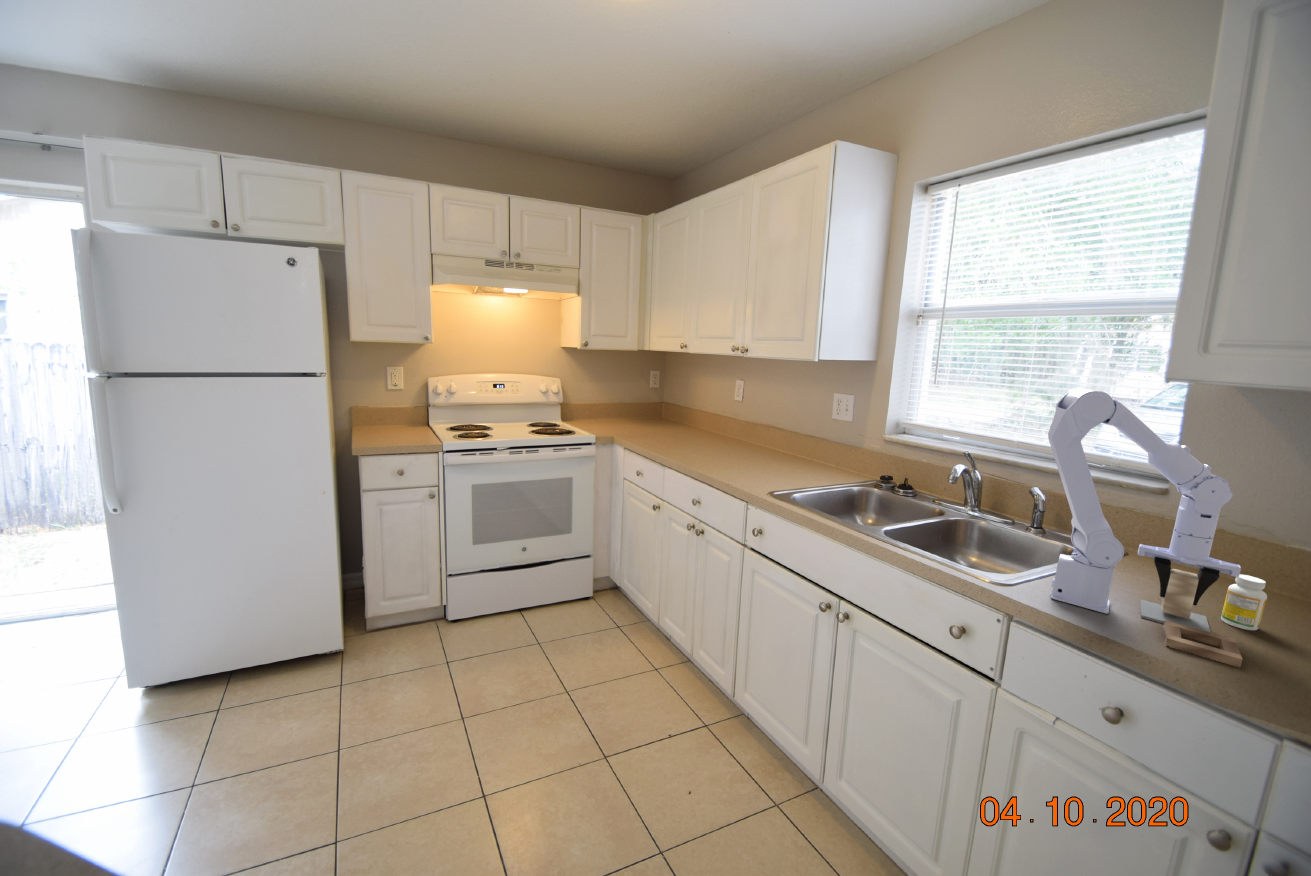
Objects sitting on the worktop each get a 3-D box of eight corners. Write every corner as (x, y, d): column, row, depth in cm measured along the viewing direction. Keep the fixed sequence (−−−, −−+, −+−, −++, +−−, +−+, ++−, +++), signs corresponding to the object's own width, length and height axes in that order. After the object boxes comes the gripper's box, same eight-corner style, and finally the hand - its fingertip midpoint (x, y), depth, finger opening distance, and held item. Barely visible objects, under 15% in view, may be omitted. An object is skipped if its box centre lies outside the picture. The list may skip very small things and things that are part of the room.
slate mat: (1140, 617, 112) (1141, 615, 112) (1140, 601, 120) (1140, 599, 120) (1210, 636, 106) (1211, 633, 106) (1205, 618, 114) (1205, 616, 114)
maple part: (1161, 611, 112) (1170, 573, 111) (1161, 605, 115) (1169, 567, 114) (1189, 618, 110) (1198, 579, 109) (1187, 612, 113) (1196, 573, 112)
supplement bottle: (1241, 631, 109) (1254, 583, 108) (1212, 617, 115) (1223, 572, 113) (1266, 631, 110) (1279, 584, 108) (1236, 617, 115) (1247, 572, 114)
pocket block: (1165, 645, 101) (1167, 638, 101) (1163, 627, 109) (1164, 620, 108) (1240, 667, 96) (1242, 659, 95) (1232, 646, 103) (1234, 638, 102)
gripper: (1144, 528, 112) (1130, 593, 114) (1249, 549, 103) (1231, 619, 105) (1144, 521, 117) (1130, 583, 119) (1243, 540, 108) (1226, 607, 110)
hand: (1177, 599), depth 112 cm, fingers closed on maple part, 4 cm apart
